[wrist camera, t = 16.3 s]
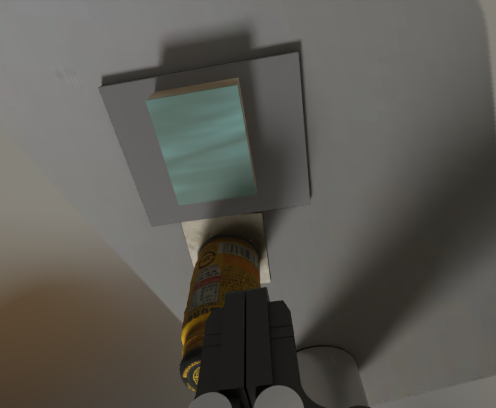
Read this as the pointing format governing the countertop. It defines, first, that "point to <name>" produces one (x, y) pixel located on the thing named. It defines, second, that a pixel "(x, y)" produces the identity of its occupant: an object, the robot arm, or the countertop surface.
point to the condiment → (218, 275)
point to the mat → (258, 126)
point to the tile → (204, 141)
